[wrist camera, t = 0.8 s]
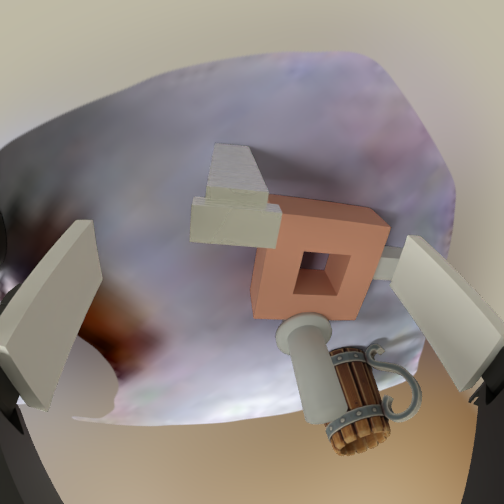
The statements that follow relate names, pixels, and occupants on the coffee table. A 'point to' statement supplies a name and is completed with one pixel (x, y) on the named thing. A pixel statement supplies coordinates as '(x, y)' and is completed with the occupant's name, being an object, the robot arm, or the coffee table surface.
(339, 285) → the square hole peg fixture
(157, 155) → the coffee table surface
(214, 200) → the wedge pin
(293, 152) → the coffee table surface
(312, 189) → the coffee table surface
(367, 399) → the mug
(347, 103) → the coffee table surface
